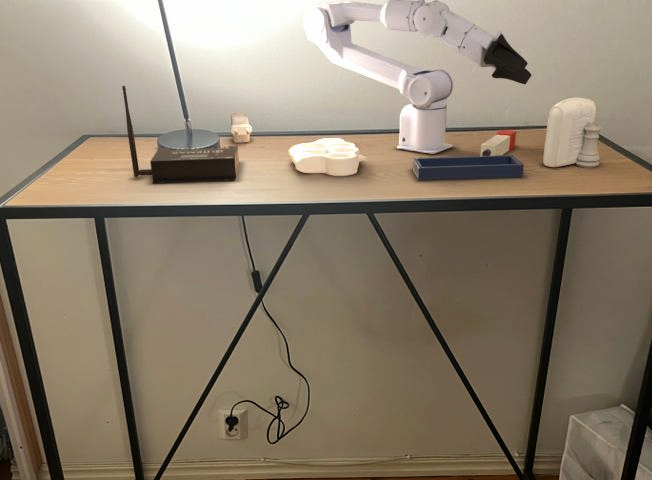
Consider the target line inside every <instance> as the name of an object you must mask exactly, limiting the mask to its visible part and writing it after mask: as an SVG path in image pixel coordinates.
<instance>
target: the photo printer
mask: <svg viewBox="0 0 652 480" xmlns="http://www.w3.org/2000/svg"><path fill="white" fill-rule="evenodd" d="M596 114H597V107H596V104H595V102H594V101H593V100H592V99H590V98H586V97H585V98H584V97H580V96H579V97H575V96H574V97H569V98H565V99H563V100H561V101H559V102H557V103H556V104H554V105H552V107H551V108H550V109H549V112H548V115H547V116H548V117H547V123H546V124H547V125H546V131H545V132H546V133H545V140H544V141H545V142H544V148H543V158H542V163H543V164H544V166H545V167H550V168H558V167H564V166H568V165H573V164H576V162H577V161H578V159H577V156H578V155H579V154H580V151H581V150H582V147H583V144H584V140H585V137H584V135H585V134H586V131H585V129H584V127H585V126H586V125H587V123H588V122H591V123H590V124H592V122H595V120H596Z"/></svg>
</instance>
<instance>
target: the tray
mask: <svg viewBox="0 0 652 480" xmlns="http://www.w3.org/2000/svg"><path fill="white" fill-rule="evenodd" d="M524 168H525V164H524V163H523V162H521V161H520V159H518V158H517V157H516V156H515V155H514V154H503V155H497V156H480V155H471V156H468V155H467V156H440V157H439V156H438V157H436V156H435V157H413V158H412V172H413V174H414V176H415V178H416V179H417V181H418V182H428V181H429V182H430V181H455V180H460V181H461V180H487V179H490V180H491V179H514V178H515V179H516V178H517V179H518V178H519V179H520V178H521V179H522V178H523V176H524Z"/></svg>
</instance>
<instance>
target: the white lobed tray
mask: <svg viewBox="0 0 652 480" xmlns="http://www.w3.org/2000/svg"><path fill="white" fill-rule="evenodd" d="M360 152H361V150H360V148H359V147H357V145H356V144H355V143H353V142H348V141H345V140H344V139H343V138H338V137H328V138H321V139H317V140H316V141H314V142H307V143H300V144H295V145H293V146H292V147H290V148H289V149H288V157H290V158H291V162H292V163H293V165H294V166H295V169H296V170H297V171H299V172H301V173H302V174H303V173H304V174H327V175H329V176H335V177H347V176H353V175H356V174H357V172H358V168H359V166H360V162H361V161H363V160H365V159H367V157H366V156H364V155H362V154H360Z"/></svg>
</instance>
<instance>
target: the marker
mask: <svg viewBox="0 0 652 480" xmlns="http://www.w3.org/2000/svg"><path fill="white" fill-rule="evenodd" d="M516 137H517V130H508V129H507V130H506V129H500V130H499V131H497V132H496V133H495V135H494V136H492V137H491V138H489V139H487V140H486V141H484V142H483V143H481V144H480V155H479V156H497V155H505V154H506V153H507V152H509V151H511V150H512V149H514V148H515V147H516Z"/></svg>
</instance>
